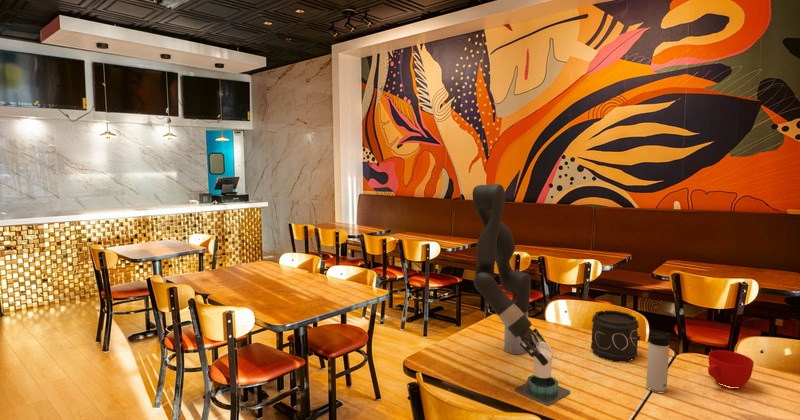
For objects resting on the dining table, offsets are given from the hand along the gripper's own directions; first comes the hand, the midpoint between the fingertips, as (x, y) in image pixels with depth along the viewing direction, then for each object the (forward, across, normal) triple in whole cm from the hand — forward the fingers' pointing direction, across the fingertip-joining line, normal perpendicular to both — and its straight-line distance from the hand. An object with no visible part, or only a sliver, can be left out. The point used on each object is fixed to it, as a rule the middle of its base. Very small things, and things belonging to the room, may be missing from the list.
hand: (548, 360), depth 163 cm
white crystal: (+3, 0, +5) cm, 6 cm away
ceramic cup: (+45, +37, -29) cm, 65 cm away
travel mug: (+31, +22, -15) cm, 41 cm away
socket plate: (+7, 0, +9) cm, 12 cm away
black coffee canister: (+19, +47, -3) cm, 51 cm away
